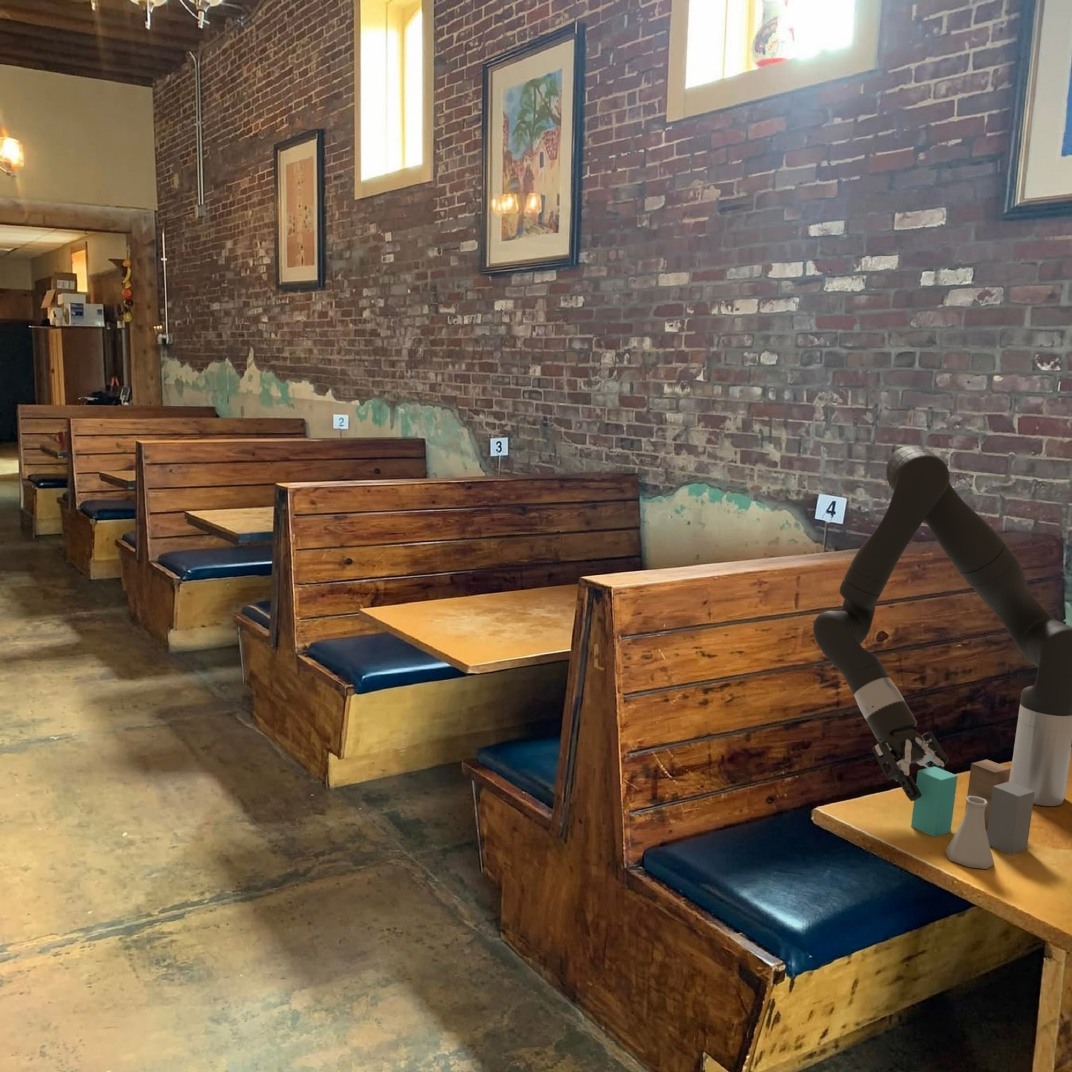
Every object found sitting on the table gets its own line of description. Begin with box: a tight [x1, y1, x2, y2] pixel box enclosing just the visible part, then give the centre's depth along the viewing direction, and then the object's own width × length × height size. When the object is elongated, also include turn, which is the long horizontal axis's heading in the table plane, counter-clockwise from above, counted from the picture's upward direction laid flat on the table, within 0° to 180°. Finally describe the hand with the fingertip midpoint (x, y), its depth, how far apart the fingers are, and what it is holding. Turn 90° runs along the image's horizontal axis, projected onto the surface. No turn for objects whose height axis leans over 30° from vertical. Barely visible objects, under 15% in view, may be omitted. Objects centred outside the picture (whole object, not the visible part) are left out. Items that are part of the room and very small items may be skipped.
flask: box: [944, 796, 995, 870], centre depth 157 cm, size 7×7×10 cm
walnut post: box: [964, 759, 1011, 828], centre depth 173 cm, size 4×4×10 cm
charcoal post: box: [986, 781, 1035, 856], centre depth 163 cm, size 4×4×10 cm
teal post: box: [910, 766, 959, 838], centre depth 168 cm, size 4×4×10 cm
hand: (932, 794), depth 168 cm, fingers open, 8 cm apart
